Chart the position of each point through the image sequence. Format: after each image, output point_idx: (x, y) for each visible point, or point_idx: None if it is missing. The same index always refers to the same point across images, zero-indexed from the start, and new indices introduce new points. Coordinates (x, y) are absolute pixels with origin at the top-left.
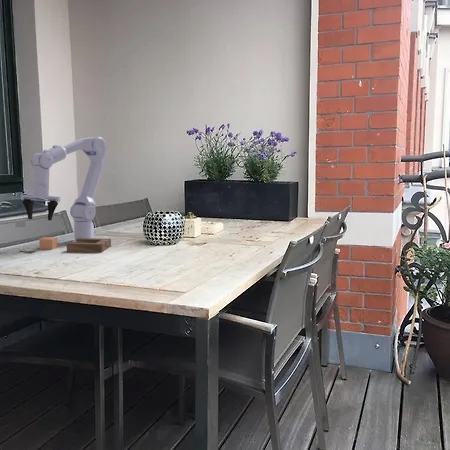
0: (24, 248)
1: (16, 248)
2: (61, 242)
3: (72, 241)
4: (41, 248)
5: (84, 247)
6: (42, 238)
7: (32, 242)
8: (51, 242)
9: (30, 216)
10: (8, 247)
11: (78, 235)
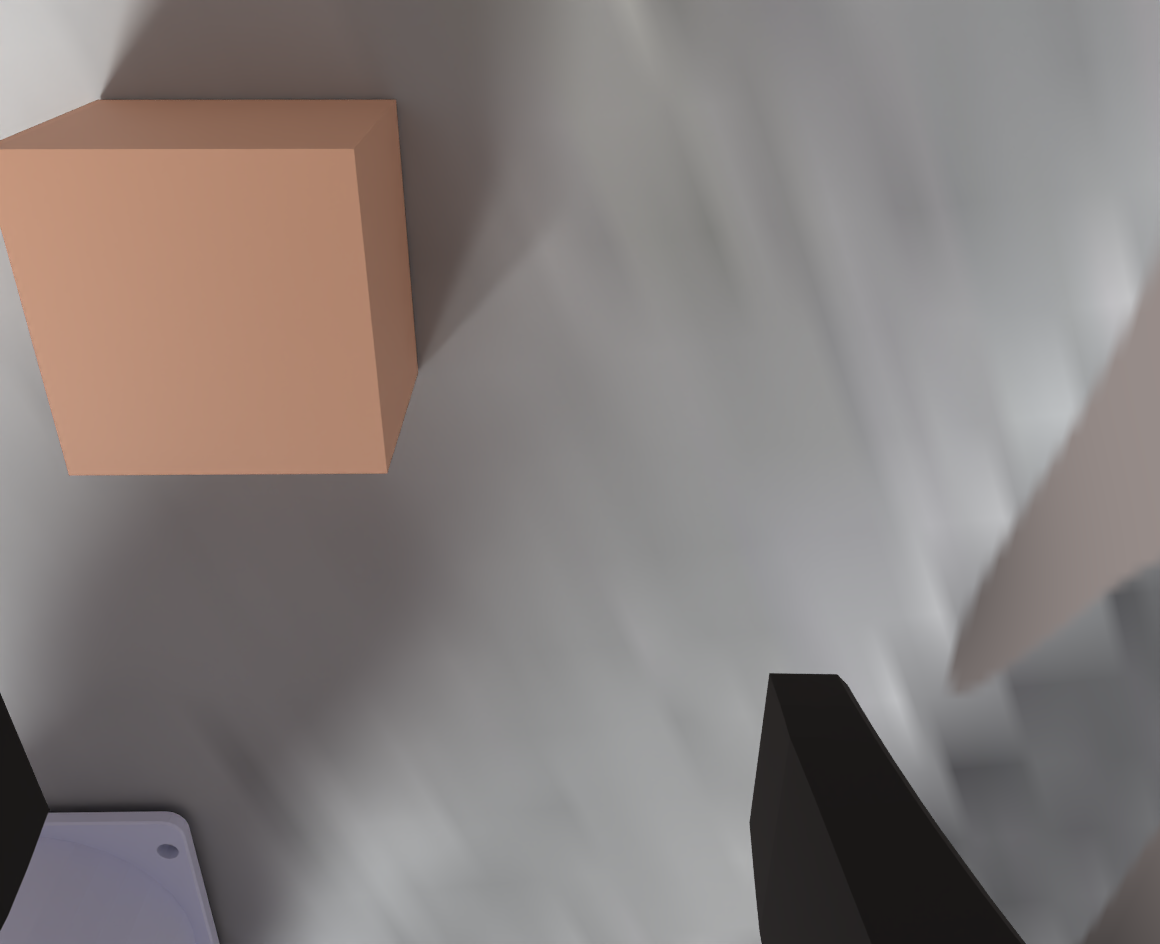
0: (779, 217)
1: (947, 199)
2: (363, 823)
3: (152, 822)
4: (348, 105)
5: None
6: (330, 277)
7: None
8: (46, 135)
9: (781, 799)
10: (1138, 294)
11: (12, 929)
